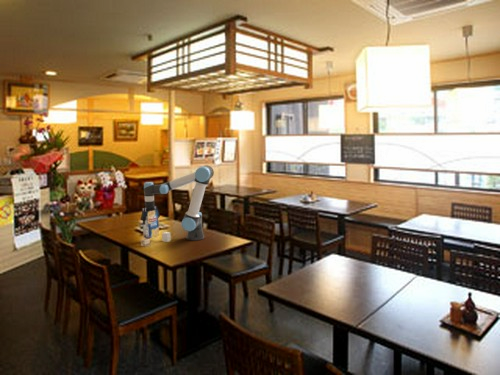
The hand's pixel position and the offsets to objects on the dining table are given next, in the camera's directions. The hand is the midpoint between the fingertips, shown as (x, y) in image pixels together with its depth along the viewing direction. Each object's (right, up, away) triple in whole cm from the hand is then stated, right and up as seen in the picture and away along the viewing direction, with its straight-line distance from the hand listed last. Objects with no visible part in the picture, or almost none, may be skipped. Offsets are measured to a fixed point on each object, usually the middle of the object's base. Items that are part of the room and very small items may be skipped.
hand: (150, 226), depth 305 cm
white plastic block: (+13, -12, +2) cm, 17 cm away
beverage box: (0, -8, +1) cm, 8 cm away
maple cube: (-1, -14, -11) cm, 18 cm away
